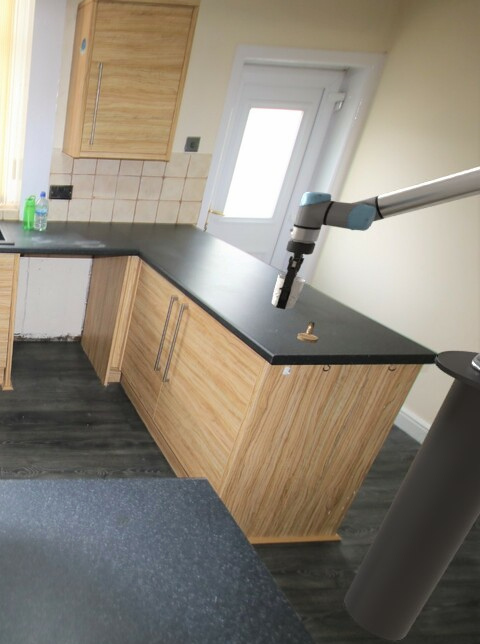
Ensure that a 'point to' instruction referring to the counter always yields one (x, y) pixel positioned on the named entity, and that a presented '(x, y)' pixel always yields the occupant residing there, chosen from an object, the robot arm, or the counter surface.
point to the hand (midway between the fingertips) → (282, 305)
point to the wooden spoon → (308, 334)
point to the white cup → (294, 292)
